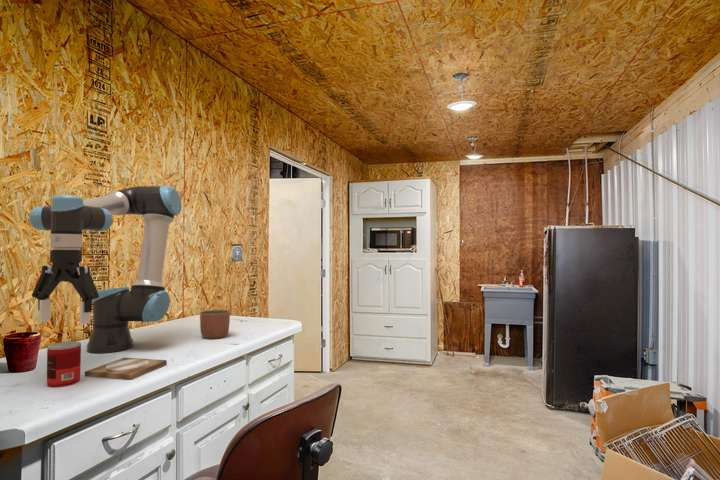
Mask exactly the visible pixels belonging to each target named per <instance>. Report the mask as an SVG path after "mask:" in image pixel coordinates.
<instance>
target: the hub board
mask: <svg viewBox="0 0 720 480" xmlns="http://www.w3.org/2000/svg"><path fill="white" fill-rule="evenodd" d="M167 362H168V361H167V360H166V359H158V358H157V359H154V358H140V357H139V358H138V357H121V358H119V359H117V360H114V361H110V362H107V363H105V364H102V365H99V366H97V367H93V368H91V369H88V370H85V371H84V377H87V378H88V377H90V378H99V379H102V378H103V379H115V380H116V379H117V380H130V381H132V380H134V379H136V378H139V377H141V376H144V375H146V374H149V373H150V372H152V371H154V370H157V369H160V368H162V367H164V366H167V364H168V363H167Z"/></svg>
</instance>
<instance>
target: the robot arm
mask: <svg viewBox="0 0 720 480" xmlns="http://www.w3.org/2000/svg"><path fill="white" fill-rule="evenodd" d="M181 212H182V199H181V196H180V193H179V192H178V191H177V189H176V188H175V187H173V186H170V185H169V186H166V185H160V186H159V185H157V186H156V185H153V186H152V185H150V186H148V185H147V186H146V185H145V186H144V185H143V186H141V185H140V186H139V185H136V186H131V187H127V188H122V189H118V190H113V191H110V192H109V193H108V194H106V195H101V196H97V197H93V198H86V199H83V198H82V197H81V196H77V195H69V194H68V195H67V194H57V195H54V196H53V197H52V199H51V205H50V206H49V205H48V206H46V205H44V206H43V205H42V206H36V207H34V208H33V209H32V210H31V211H30V213H29V217H28V219H29V223H30V225H31V226H32V227H33V228H34V229H36V230H39V231H46V232H49V231H50V242H49V243H50V245H49V247H50V248H52V249H51V250H50V251H49V262H50V263H52V265H42V266H41V273H40V275H39V278H38V280H37V282H36V284H35V287H34V288H33V291H32V293H31V297H32V298H36V299H37V300H38V302H37V310H38V311H39V312H38V313H39V314H38V315H39V316H38V319H39V320H38V323H39V324H44V323H48V322H51V298H50V296H51V295H52V294H53V292H54V290H55V289H56V288H57V287H58V285H60V283H62V282H65V283H66V282H67V283H69V284H71V285H72V286H73V287H74V289H75V291H76V292H77V294H78V295H79V296H80V298H81V300H80V301H79V325H80V326H83V325H89V324H90V323H91V312H92V331H91V334H90V336H89V341H88V342H87V344H86V352H87V353H92V354H105V353H106V354H107V353H114V352H121V351H127V350H129V349H131V348H133V347H134V339H133V337H132V335H131V332H130V328H129V322H139V323H141V322H144V323H150V322H159V321H160V320H162V319H163V318H164V316H166V314H167V313H168V310H169V308H170V304H171V303H170V302H171V300H170V299H171V298H170V295H169V293H168V292H167V291H165V290H166V289H165V288H166V287H165V285H163V283H162V279H163V273H164V264H165V257H166V251H167V250H166V249H167V243H168V235H169V234H168V233H169V226H170V224H171V223H173V222H174V221H175V216H177V215H180V213H181ZM124 215H138V216H141V218H142V220H144V221H145V222H144V228H143V235H142V236H143V237H142V242H141V248H140V255H139V262H138V270H137V275H136V281H135V282H133V283H132V284H131V286H130V287H131V288H129V287H128V286H120V287H113V288H105V289H99V290H98V289H97V287H96V285H95V282H94V279H93V277H92V274H91V267H90V266H89V265H80V263H81V262H82V260H83V251H82V250H81V249H82V248H83V231H91V232H92V231H94V232H103V231H107V230H108V229H110V228H111V226H112V224H113V220H114V219H113V216H124Z"/></svg>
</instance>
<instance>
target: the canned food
mask: <svg viewBox="0 0 720 480" xmlns="http://www.w3.org/2000/svg"><path fill="white" fill-rule="evenodd" d="M46 349H47V350H46V384H47V386H48V387H51V388H62V387H67V386H71V385H74V384H77V383H78V382H79V381H80V380H81V366H82V365H81V363H82V362H81V361H82V344H81V342H80V341H75V340H74V341H73V340H71V341H60V342H55V343H52V344H49V345H48V346H47V348H46Z"/></svg>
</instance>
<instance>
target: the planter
mask: <svg viewBox="0 0 720 480" xmlns="http://www.w3.org/2000/svg"><path fill="white" fill-rule="evenodd" d="M230 320H231V311H230V310H228V309H209V310H208V309H207V310H202V311H201V312H199V325H200V329H199V330H200V335H201V336H202V337H203V338H204V339H208V340H209V339H210V340H214V339H221V338H222V339H223V338H225V337H226V336H227V335H228V334H229V332H230V324H231V323H230Z"/></svg>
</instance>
